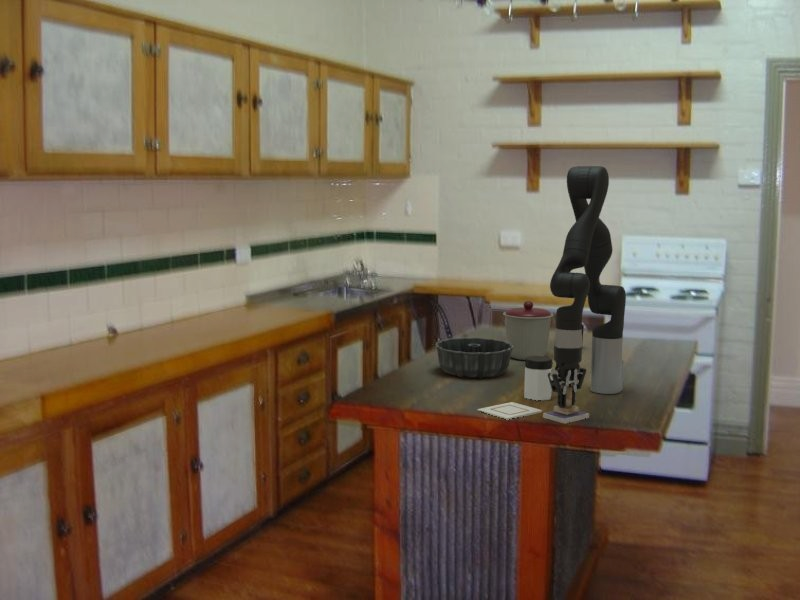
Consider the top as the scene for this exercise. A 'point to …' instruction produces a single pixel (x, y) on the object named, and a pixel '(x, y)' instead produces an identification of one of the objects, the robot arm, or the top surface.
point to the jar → (537, 378)
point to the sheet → (510, 410)
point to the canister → (528, 330)
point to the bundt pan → (474, 356)
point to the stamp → (567, 405)
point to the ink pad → (565, 417)
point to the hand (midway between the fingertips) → (566, 405)
